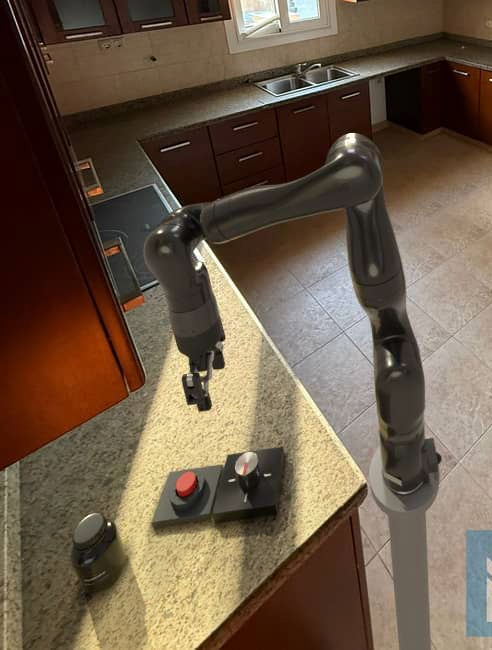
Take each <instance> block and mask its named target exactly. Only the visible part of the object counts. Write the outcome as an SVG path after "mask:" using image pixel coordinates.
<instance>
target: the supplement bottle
mask: <svg viewBox="0 0 492 650" xmlns="http://www.w3.org/2000/svg"><path fill="white" fill-rule="evenodd" d="M120 534H121V533H120V532H119V529H118V527H117V524H116V522H115V521H114V520H113V519H111V518H107V517H106V516H105V515H104V513H103V512H98V511H96V512H93V513H90V514H88V515H87V516H85V517H84V518H83V519H81V521H80V522H79V523H78V524H77V525H76V527H75V529H74V530H73V532H72V537H71V541H72V547H71V549H70V556H69V557H70V562H71V565H72V567H73V569H74V572H75V574H76V577H77V578H78V581H79V583H80V586H81V587H82V589H83V592H85V593H86V594H89V595H96V594H100V593H102V592H104V591H106V590H107V589H108V588H110V587H111V586H112V585H114V583H115V582H116V580H118V578H119V577H120V575H121V574H122V572H123V569H124V567H125V564H126V562H127V553H126V552H127V551H126V548H125V546H124V543H123V540H122V538H121V535H120Z"/></svg>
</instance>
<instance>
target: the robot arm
mask: <svg viewBox="0 0 492 650" xmlns="http://www.w3.org/2000/svg"><path fill="white" fill-rule="evenodd" d="M383 166H384V165H383V156H382V153H381V151H380V149H379V147H378V146H377V145H376V143H375V141H372V139H370V138H369V137H367V136H366V135H364V134H361V133H358V132H357V133H355V132H351V133H346V134H344V135H341V136H340V137H338V138H337V140H335V141H334V143H333V144H332V145H331V147H330V148H329V150H328V152H327V155H326V158H325V162H324V165H322V166H321V167H319V168H318V169H316V170H315V171H312V172H310V173H309V174H307V175H305V176H303V177H300V178H298V179H295V180H292V181H288V182H285V183H279V184H267V185H257V186H252V187H248V188H244V189H241V190H238V191H235V192H233V193H230V194H227V195H225V196H222V197H220V198H217V199H215V200H213V201H208V202H207V201H206V202H199V203H193V204H188V205H184V206H182V207H179V208H177V209H174V210H173V211H171V212H170V213H168V214H167V215H166V216H164V217H163V218H162V220H161V221H160V222H159V223H158V224H157V225H156V227H155V228H153V230H152V231H151V232H149V234H148V235H147V237H146V239H145V241H144V244H143V249H142V251H143V259H144V263H145V265H146V267H147V268H148V270H149V271H150V273H151V274H152V276H153V277H154V278H155V279H156V281H157V283H158V284H159V285H160V286H161V287H162V289H163V294H164V297H165V300H166V304H167V309H168V317H169V322H170V326H171V330H172V333H173V337H174V340H175V345H176V348H177V350H178V352H179V353H180V354H182V355H183V356H185V357H187V359H188V367H189V371H188V373H184V374H182V376H181V384H182V388H183V393H184V397H185V401H186V405H187V406H194V405H196V408H197V411H198V413H201V412H209V411H211V410H212V406H213V403H212V399H211V395H210V391H209V389H210V387H209V384H210V380H212V378H213V370H214V371H218V370H224V368H225V367H226V361H225V357H224V353H223V352H224V344H223V342H225V341H226V337H227V336H226V333H225V329H224V326H223V325H224V324H223V322H222V318H221V315H220V310H219V306H218V302H217V298H216V296H215V294H214V291H213V287H212V282H211V279H210V273H209V271H208V267H207V266H206V265H205V263H203V262H202V261H201V260H197V259H192V257H193V256H192V255H193V253H194V251H195V250H196V248H198V246H199V244H201V242H203V241H205V240H207V241H208V242H210V243H212V244H216V245H217V244H219V245H220V244H225V243H228V242H231V241H234V240H236V239H239V238H242V237H245V236H247V235H251V234H252V233H255V232H257V231H260V230H264V229H266V228H269V227H272V226H275V225H279V224H281V223H286V222H289V221H294V220H298V219H302V218H306V217H311V216H316V215H320V214H325V213H330V212H336V211H340V210H343V211H344V218H345V234H346V235H345V236H346V252H347V253H346V254H347V262H348V268H349V275H350V278H351V283H352V286H353V290H354V294H355V297H356V299H357V303H358V304H359V306H360V307H361V308H362V310H363V311H364V312H365V314H366V316H367V317H368V320H369V324H370V330H371V339H372V360H373V361H372V363H373V378H374V379H373V381H374V393H375V395H374V396H375V405H376V415H377V423H378V436H379V446H380V449H381V461H382V477H383V480H384V483H385V485H386V486H387V488H388V489H389V490H390V491H391V492H393V493H395V494H397V495H401V496H407V495H411V494H413V493H415V492H416V491H418V490H419V489H420V488H421V486H422V485H423V484H426V483H428V474H429V473H435V472H438V464H439V465H440V464H441V463H442V461H443V458H442V455H441V454H440V453H439V452H438V451H437V450H436V443H435V438H434V437H428V438H426V433H425V432H426V431H425V411H426V381H425V372H424V368H423V367H424V366H423V362H422V355H421V352H420V347H419V344H418V341H417V339H416V335H415V333H414V330H413V327H412V324H411V322H410V318H409V314H408V311H407V283H406V276H405V271H404V265H403V261H402V256H401V252H400V248H399V245H398V241H397V238H396V233H395V230H394V227H393V224H392V221H391V218H390V215H389V211H388V207H387V204H386V196H385V187H384V177H383V175H384V174H383V173H384V171H383V170H384V169H383V168H384V167H383ZM202 372H203V373H204V372H206V374H205V375H200V373H202Z"/></svg>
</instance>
